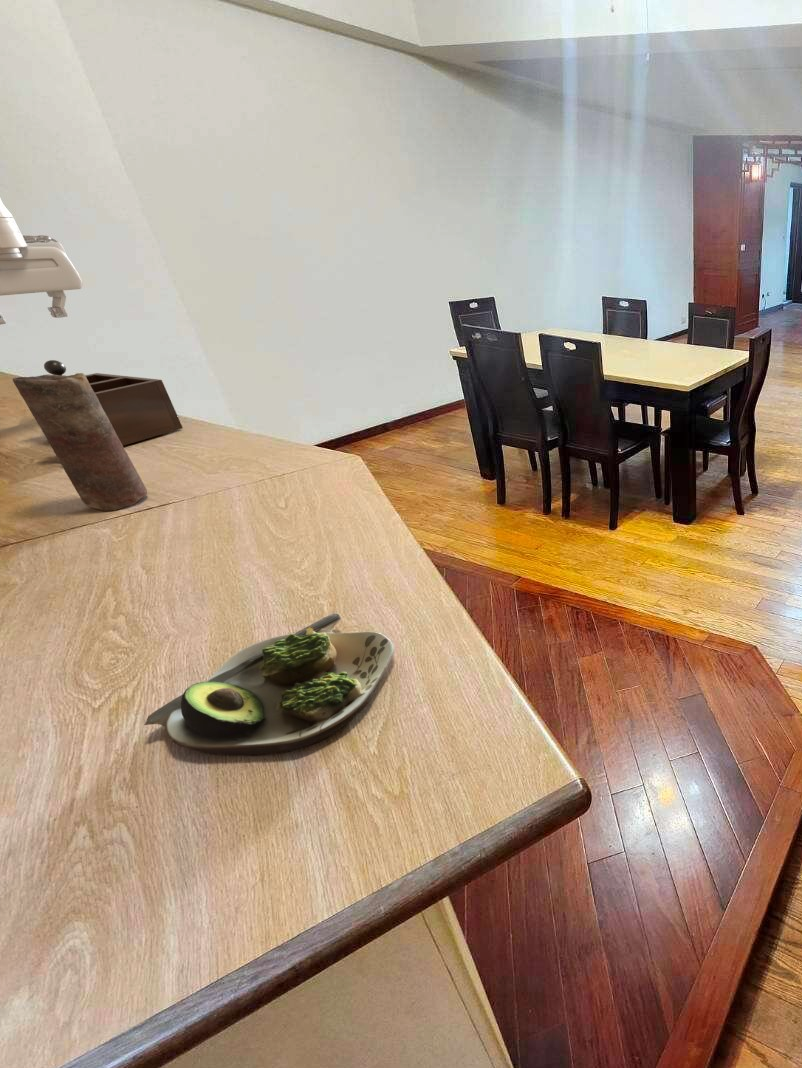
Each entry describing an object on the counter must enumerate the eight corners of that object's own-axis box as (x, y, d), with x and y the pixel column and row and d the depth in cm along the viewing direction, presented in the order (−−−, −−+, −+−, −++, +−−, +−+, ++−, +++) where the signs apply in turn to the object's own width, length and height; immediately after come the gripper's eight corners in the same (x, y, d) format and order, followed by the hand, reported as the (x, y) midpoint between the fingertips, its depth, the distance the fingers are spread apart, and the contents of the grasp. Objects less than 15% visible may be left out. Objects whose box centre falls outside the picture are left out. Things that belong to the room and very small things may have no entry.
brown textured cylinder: (72, 508, 91) (-4, 377, 81) (125, 490, 97) (61, 366, 87) (110, 515, 89) (38, 382, 80) (161, 496, 96) (100, 371, 86)
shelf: (43, 439, 114) (2, 366, 107) (117, 420, 125) (84, 353, 118) (114, 448, 112) (77, 374, 105) (183, 428, 123) (153, 360, 116)
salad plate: (267, 626, 68) (252, 593, 66) (426, 626, 69) (417, 593, 67) (125, 760, 51) (98, 722, 49) (338, 757, 52) (322, 720, 50)
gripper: (43, 234, 111) (81, 312, 118) (-112, 236, 94) (-57, 327, 101) (70, 235, 110) (106, 314, 117) (-81, 238, 93) (-28, 330, 100)
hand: (30, 320), depth 109 cm, fingers open, 8 cm apart
